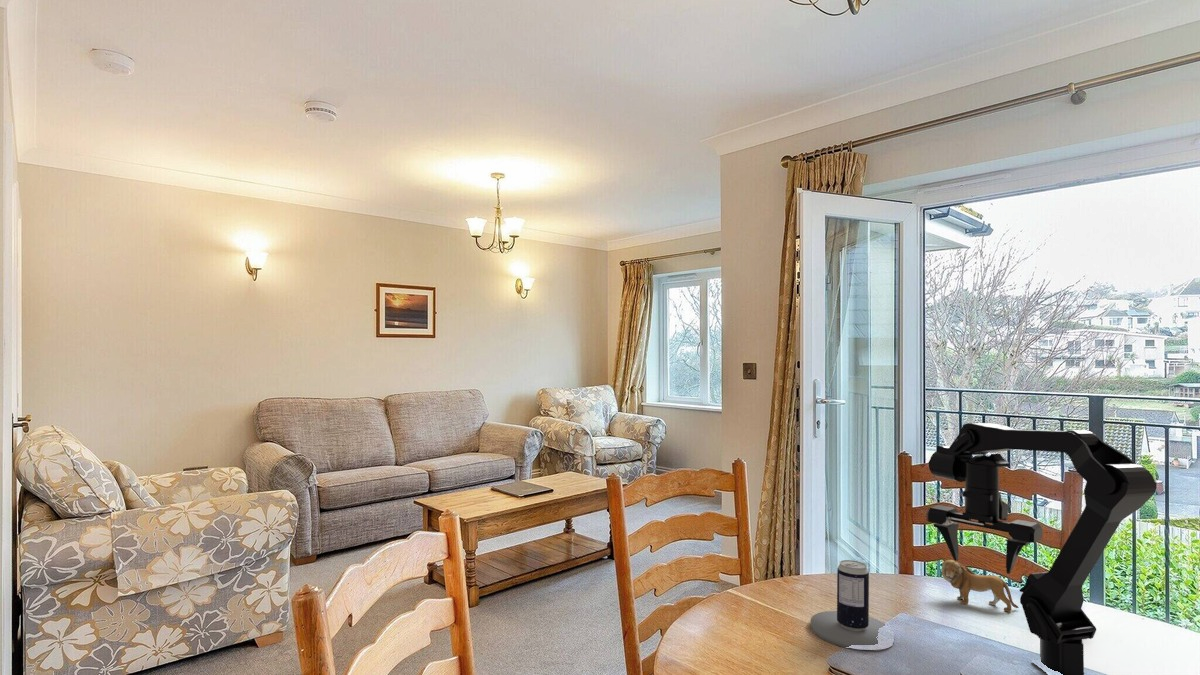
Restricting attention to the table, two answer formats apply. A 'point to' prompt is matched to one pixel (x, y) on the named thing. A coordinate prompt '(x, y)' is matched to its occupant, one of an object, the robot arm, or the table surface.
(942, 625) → the table surface
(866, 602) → the beverage can
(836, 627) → the gray smooth stone
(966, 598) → the lion figurine
